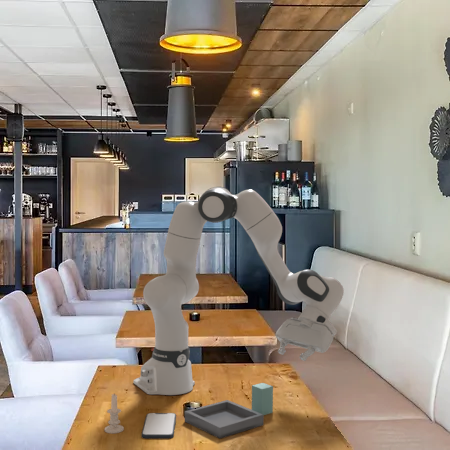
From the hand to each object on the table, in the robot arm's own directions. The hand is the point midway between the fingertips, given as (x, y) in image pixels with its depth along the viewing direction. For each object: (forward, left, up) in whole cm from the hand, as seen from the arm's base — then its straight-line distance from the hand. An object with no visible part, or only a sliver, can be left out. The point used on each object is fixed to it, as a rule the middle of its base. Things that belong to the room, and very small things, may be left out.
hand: (290, 356), depth 189 cm
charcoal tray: (0, -27, -15) cm, 31 cm away
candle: (-15, -54, -15) cm, 58 cm away
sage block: (0, -12, -15) cm, 19 cm away
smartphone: (-9, -43, -16) cm, 47 cm away
